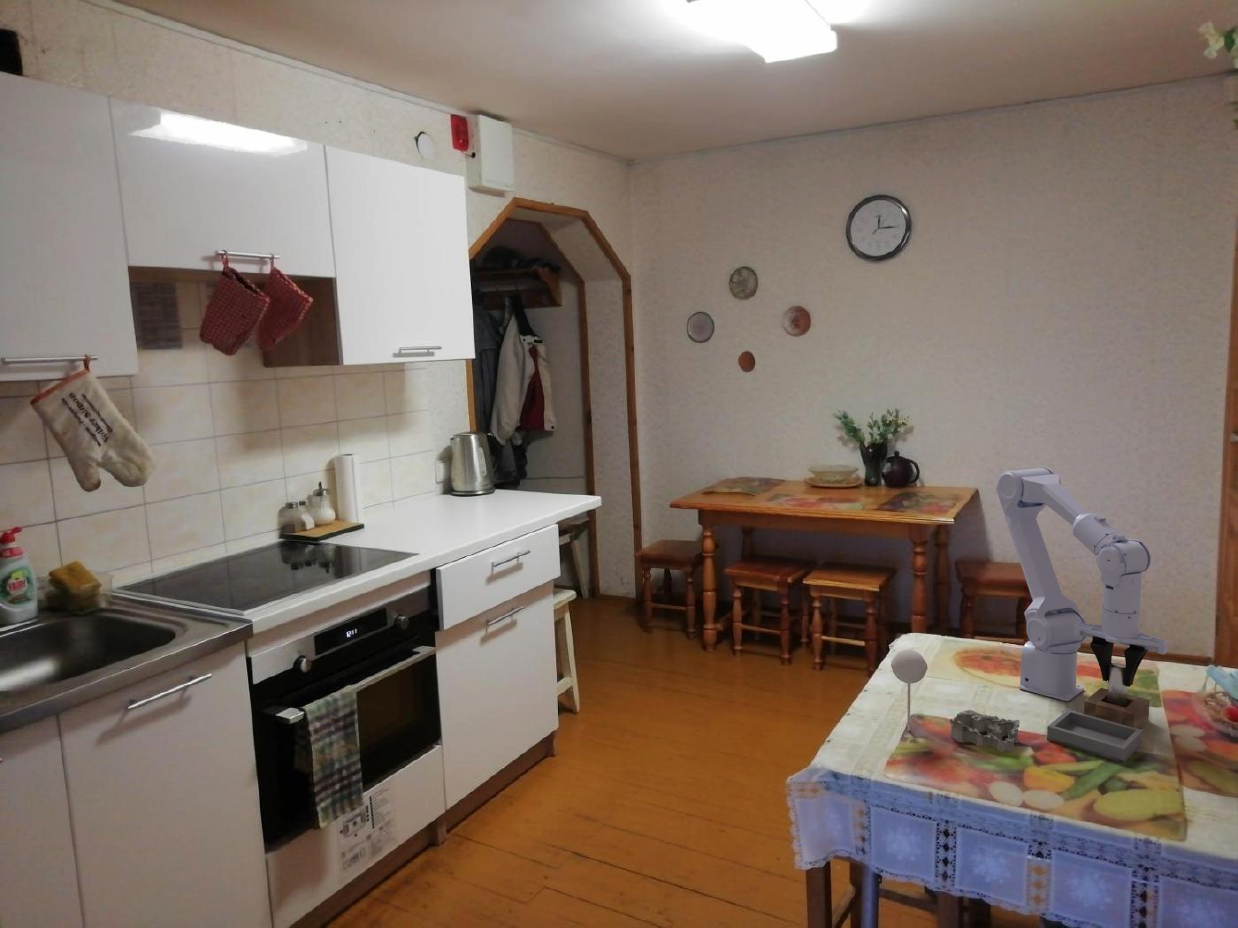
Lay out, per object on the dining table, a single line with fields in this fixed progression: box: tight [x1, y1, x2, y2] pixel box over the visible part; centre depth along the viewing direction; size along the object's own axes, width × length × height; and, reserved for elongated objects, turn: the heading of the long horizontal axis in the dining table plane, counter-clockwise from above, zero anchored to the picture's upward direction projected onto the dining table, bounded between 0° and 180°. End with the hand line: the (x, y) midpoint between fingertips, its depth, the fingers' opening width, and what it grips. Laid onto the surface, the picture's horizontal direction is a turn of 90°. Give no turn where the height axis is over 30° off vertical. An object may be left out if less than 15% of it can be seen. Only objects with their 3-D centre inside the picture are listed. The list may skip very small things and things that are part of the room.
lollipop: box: [890, 649, 929, 732], centre depth 153 cm, size 6×6×15 cm
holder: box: [1083, 687, 1151, 730], centre depth 153 cm, size 8×8×4 cm
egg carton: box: [949, 709, 1021, 753], centre depth 149 cm, size 11×8×4 cm
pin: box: [1107, 662, 1128, 708], centre depth 152 cm, size 3×3×8 cm
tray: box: [1046, 709, 1144, 764], centre depth 146 cm, size 12×9×2 cm
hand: (1117, 682), depth 152 cm, fingers closed on pin, 3 cm apart
